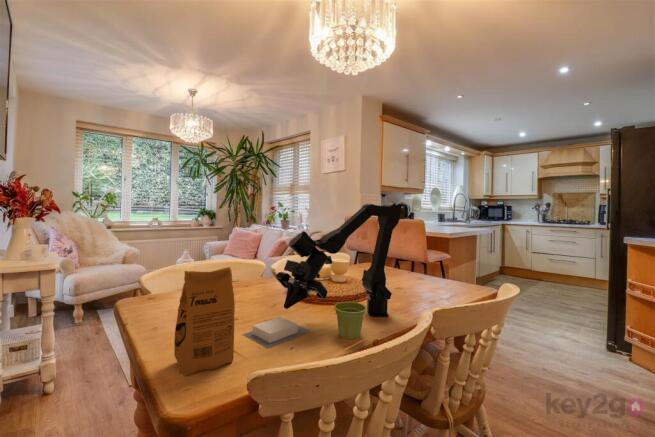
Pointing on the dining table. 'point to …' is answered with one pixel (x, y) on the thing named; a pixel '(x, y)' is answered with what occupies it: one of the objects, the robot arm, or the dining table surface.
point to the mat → (269, 345)
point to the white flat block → (275, 329)
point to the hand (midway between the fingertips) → (285, 308)
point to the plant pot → (350, 319)
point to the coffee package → (205, 321)
